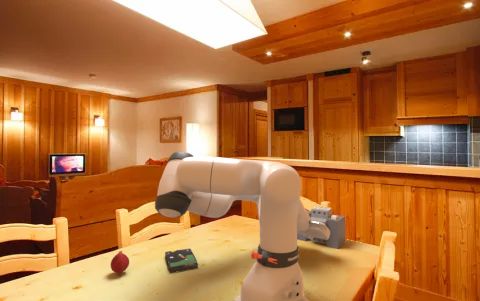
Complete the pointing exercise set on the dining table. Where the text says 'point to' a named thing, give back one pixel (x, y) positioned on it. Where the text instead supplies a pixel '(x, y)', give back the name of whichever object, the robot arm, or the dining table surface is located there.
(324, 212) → the circuit breaker
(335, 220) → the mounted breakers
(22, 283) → the dining table surface
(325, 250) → the dining table surface
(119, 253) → the onion
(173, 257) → the disk drive
